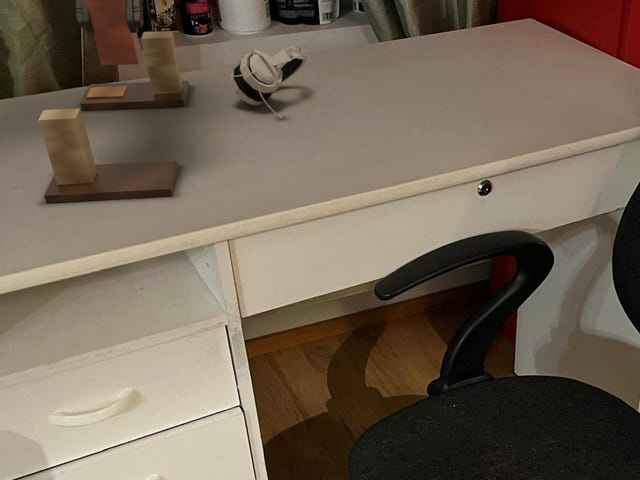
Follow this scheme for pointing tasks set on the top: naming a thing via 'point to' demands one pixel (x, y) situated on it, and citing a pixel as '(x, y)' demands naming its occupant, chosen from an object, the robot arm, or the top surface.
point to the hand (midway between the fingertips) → (111, 29)
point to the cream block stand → (95, 166)
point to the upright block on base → (156, 93)
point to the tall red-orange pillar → (113, 33)
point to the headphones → (264, 74)
